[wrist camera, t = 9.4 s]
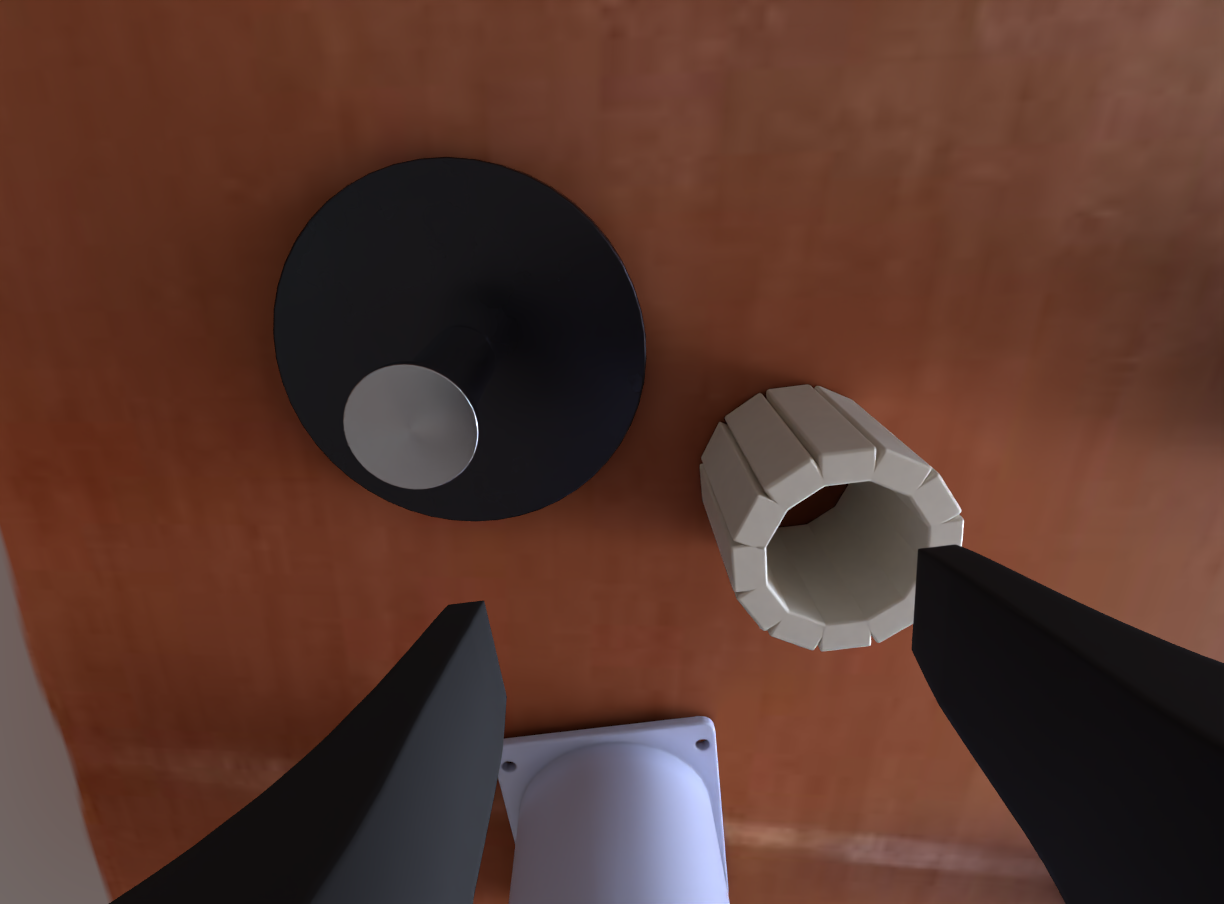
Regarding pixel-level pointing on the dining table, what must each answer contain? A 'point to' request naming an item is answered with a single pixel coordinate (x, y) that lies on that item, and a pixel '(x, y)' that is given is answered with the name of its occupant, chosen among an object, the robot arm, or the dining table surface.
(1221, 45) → the dining table surface
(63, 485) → the dining table surface
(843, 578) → the cream faceted cylinder
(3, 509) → the dining table surface
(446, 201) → the stand
